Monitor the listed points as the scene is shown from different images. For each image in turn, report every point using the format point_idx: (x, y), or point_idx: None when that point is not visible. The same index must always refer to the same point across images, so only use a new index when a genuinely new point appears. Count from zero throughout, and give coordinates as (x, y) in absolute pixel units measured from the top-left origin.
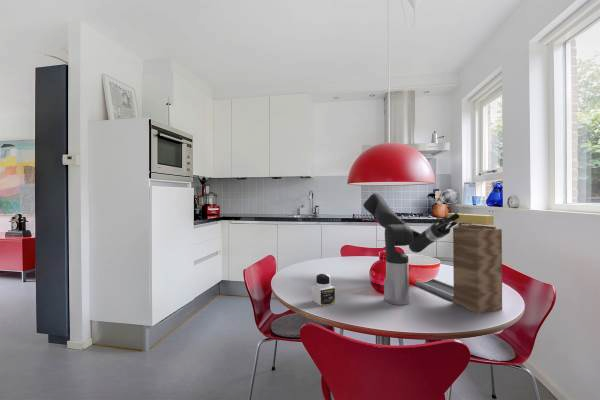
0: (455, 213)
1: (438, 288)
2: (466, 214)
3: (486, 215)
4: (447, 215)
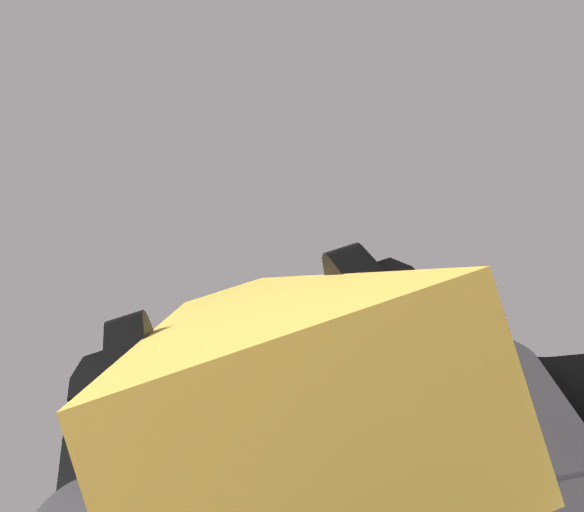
0: (361, 251)
1: None
2: (265, 286)
3: (222, 291)
4: (509, 361)
